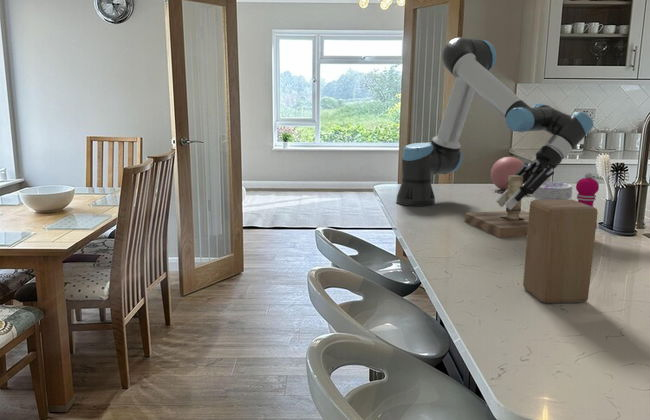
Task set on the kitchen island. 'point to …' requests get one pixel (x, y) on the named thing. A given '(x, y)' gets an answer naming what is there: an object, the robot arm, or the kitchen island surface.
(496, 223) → the walnut board
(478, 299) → the kitchen island surface
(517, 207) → the beech peg
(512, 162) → the balloon
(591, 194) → the pepper mill
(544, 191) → the paper bowls
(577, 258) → the wooden block
